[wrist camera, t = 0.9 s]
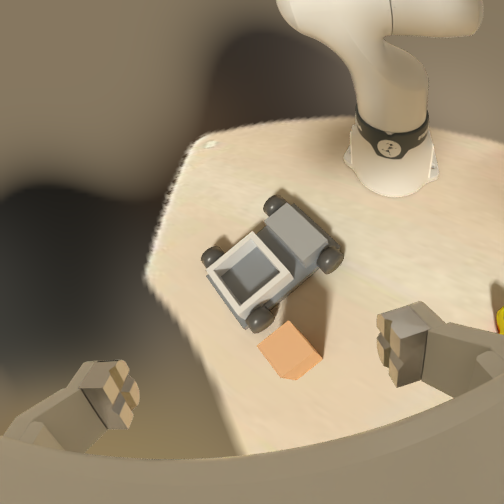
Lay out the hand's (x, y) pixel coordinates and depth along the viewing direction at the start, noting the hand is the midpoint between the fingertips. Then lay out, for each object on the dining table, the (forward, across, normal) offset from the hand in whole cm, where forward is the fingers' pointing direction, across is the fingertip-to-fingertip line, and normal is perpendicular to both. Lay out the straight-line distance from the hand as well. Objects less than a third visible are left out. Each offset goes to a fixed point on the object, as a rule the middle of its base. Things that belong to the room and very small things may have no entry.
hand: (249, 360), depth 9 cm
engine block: (+30, -3, +23) cm, 38 cm away
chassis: (+41, -2, +12) cm, 43 cm away
